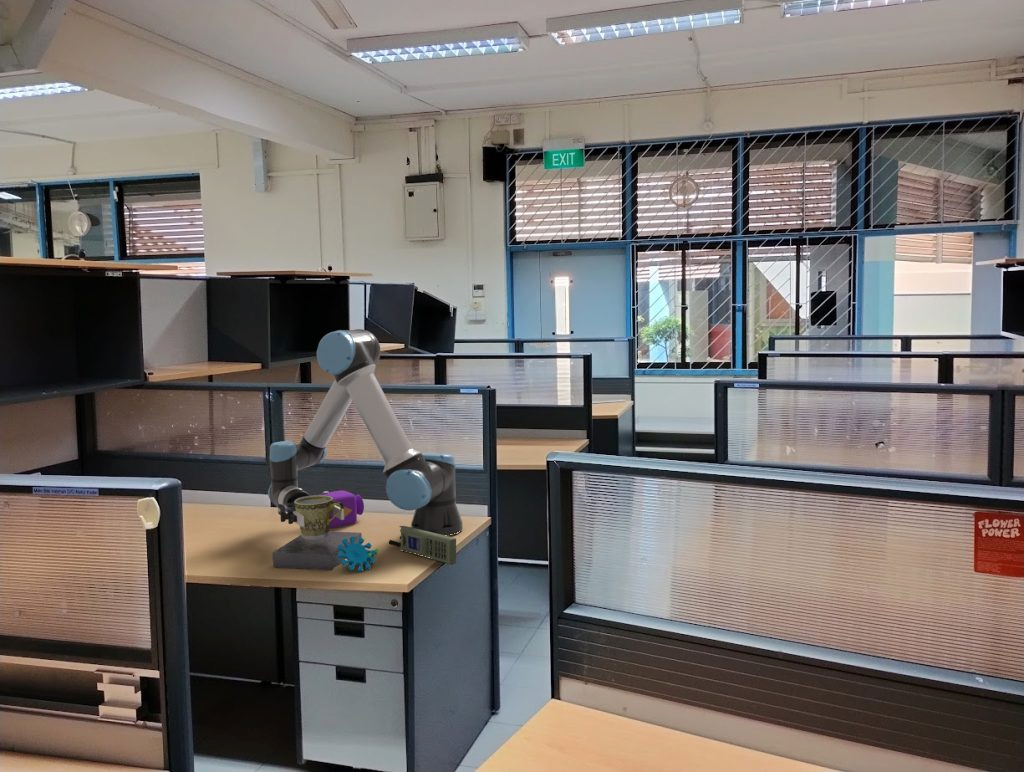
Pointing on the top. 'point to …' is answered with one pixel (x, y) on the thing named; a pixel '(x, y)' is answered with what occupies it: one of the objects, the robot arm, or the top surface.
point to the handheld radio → (427, 544)
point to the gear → (356, 554)
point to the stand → (313, 552)
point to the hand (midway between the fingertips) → (322, 518)
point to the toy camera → (346, 507)
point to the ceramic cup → (315, 515)
